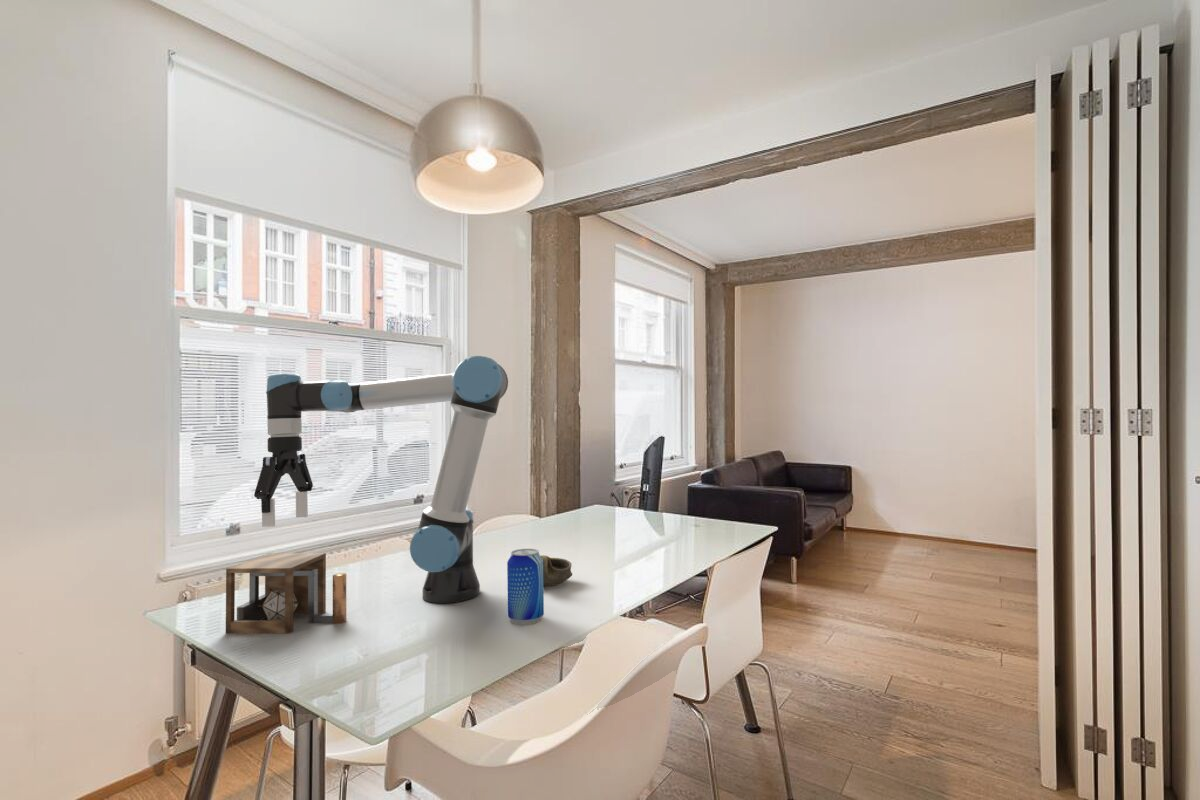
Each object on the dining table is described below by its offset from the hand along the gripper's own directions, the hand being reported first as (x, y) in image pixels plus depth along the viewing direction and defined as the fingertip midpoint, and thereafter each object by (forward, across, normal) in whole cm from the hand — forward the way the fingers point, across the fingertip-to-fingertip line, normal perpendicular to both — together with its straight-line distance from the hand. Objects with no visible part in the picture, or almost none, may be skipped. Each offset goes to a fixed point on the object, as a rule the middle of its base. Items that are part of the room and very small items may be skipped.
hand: (286, 521), depth 144 cm
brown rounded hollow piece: (+24, -26, +60) cm, 70 cm away
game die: (+23, +4, +1) cm, 24 cm away
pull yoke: (+23, +4, +5) cm, 24 cm away
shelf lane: (+23, +4, 0) cm, 23 cm away
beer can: (+24, +2, +60) cm, 65 cm away
